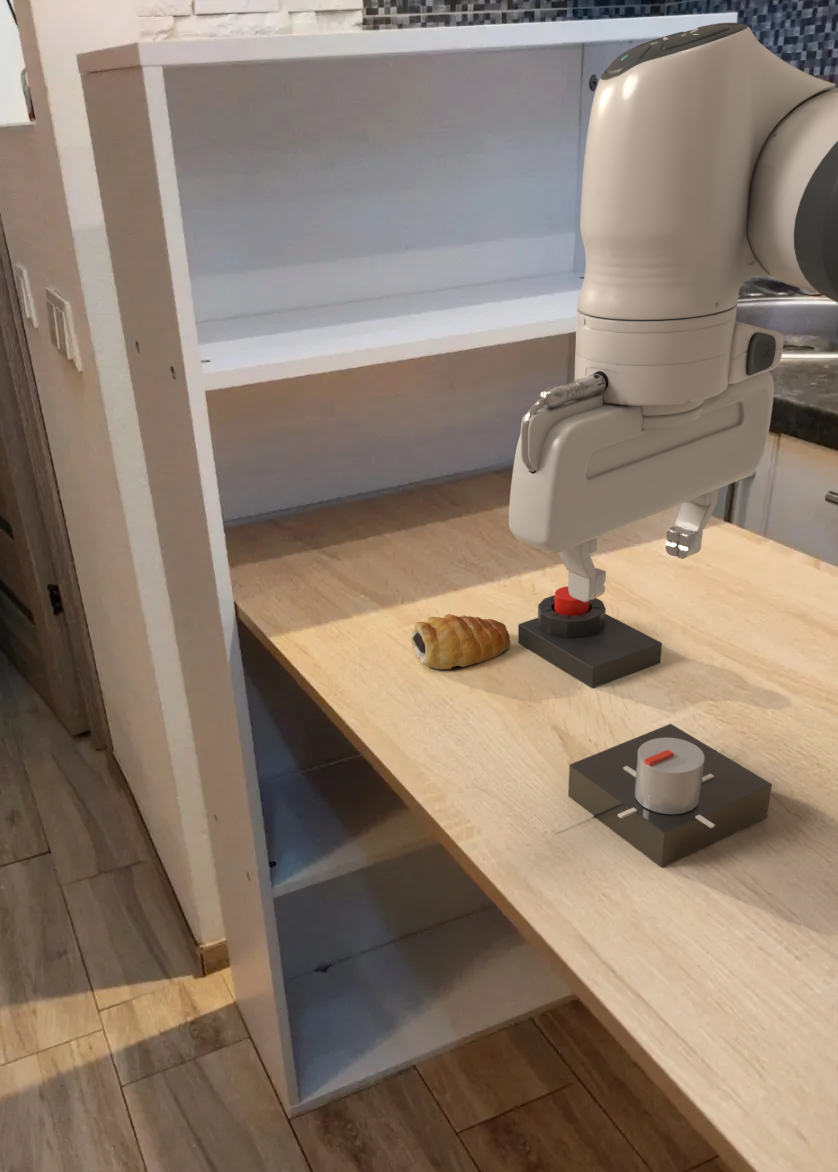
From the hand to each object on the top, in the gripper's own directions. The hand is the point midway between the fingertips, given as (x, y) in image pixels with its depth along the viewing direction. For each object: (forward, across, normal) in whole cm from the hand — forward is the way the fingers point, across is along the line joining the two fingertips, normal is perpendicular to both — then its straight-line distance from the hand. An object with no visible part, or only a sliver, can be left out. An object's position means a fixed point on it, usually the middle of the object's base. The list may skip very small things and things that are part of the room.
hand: (635, 574), depth 67 cm
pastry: (+19, +7, +27) cm, 33 cm away
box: (+19, +16, +18) cm, 30 cm away
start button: (+15, +16, +20) cm, 30 cm away
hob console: (+19, +2, -2) cm, 19 cm away
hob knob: (+16, 0, -4) cm, 16 cm away
